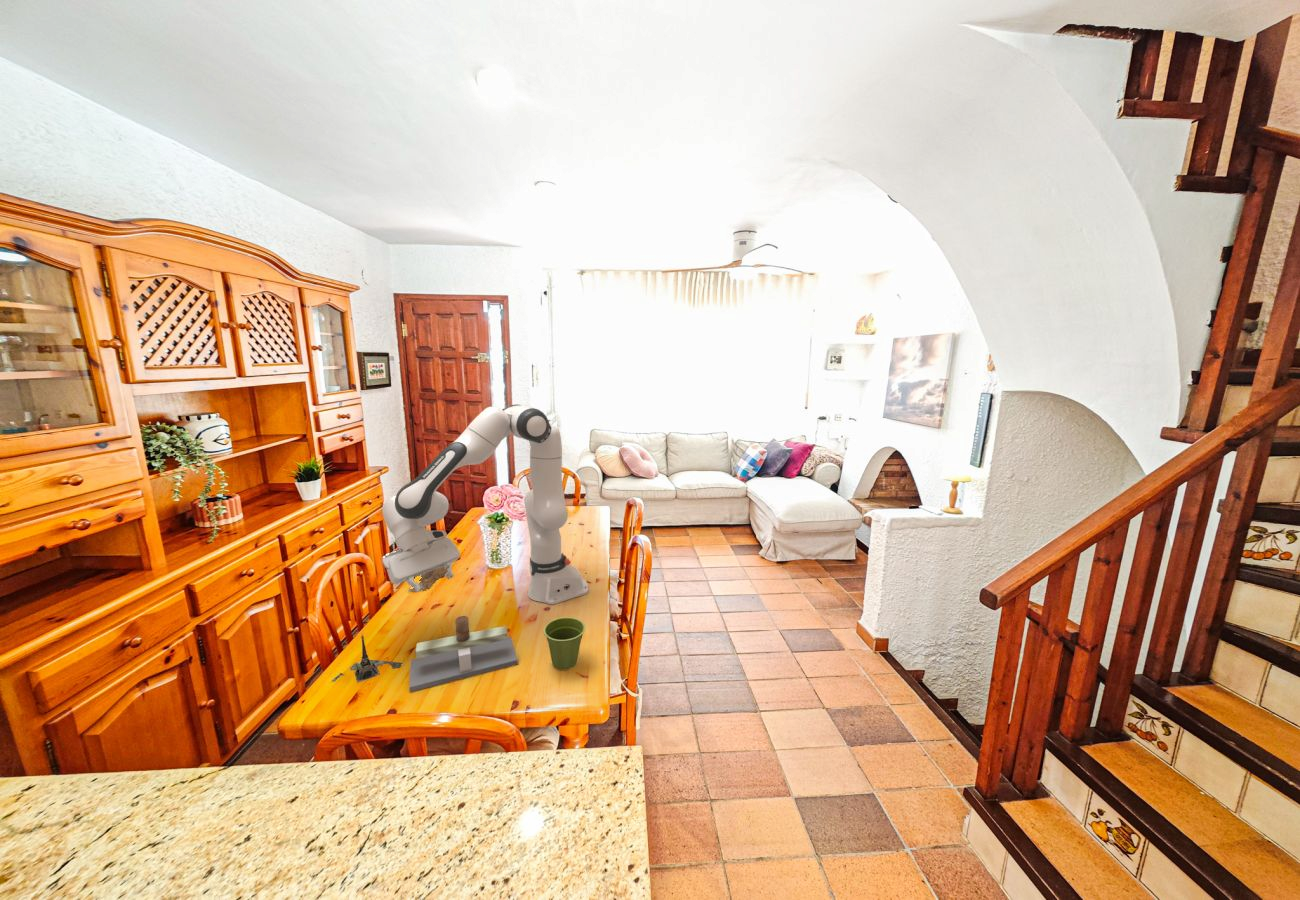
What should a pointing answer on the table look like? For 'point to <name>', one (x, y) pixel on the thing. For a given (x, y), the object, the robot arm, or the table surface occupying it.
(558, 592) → the robot arm
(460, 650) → the stand
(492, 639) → the balance beam
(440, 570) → the wooden fragment
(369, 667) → the eiffel tower figurine
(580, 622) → the plant pot
